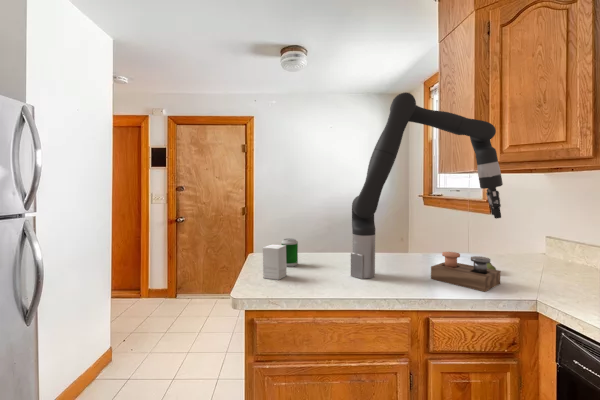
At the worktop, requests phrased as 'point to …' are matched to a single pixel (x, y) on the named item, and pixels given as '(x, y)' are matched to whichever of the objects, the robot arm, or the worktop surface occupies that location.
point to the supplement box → (274, 261)
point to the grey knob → (480, 264)
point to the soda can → (291, 251)
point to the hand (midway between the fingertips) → (496, 216)
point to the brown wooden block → (466, 276)
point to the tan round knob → (451, 259)
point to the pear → (490, 266)
